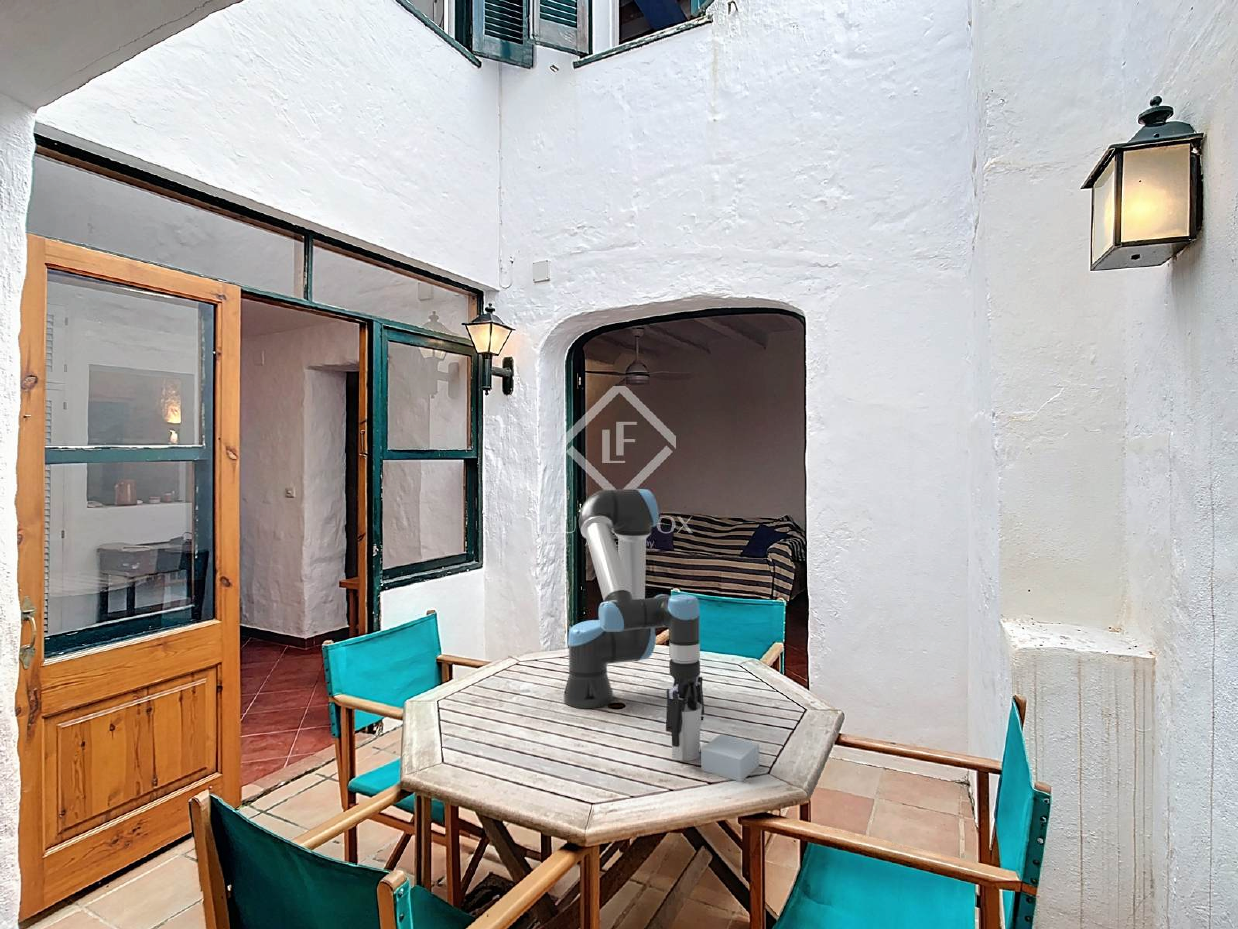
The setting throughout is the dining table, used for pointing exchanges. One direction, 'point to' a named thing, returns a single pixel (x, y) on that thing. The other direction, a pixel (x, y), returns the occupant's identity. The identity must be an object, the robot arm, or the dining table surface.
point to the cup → (691, 732)
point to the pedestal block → (730, 757)
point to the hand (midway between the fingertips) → (686, 752)
